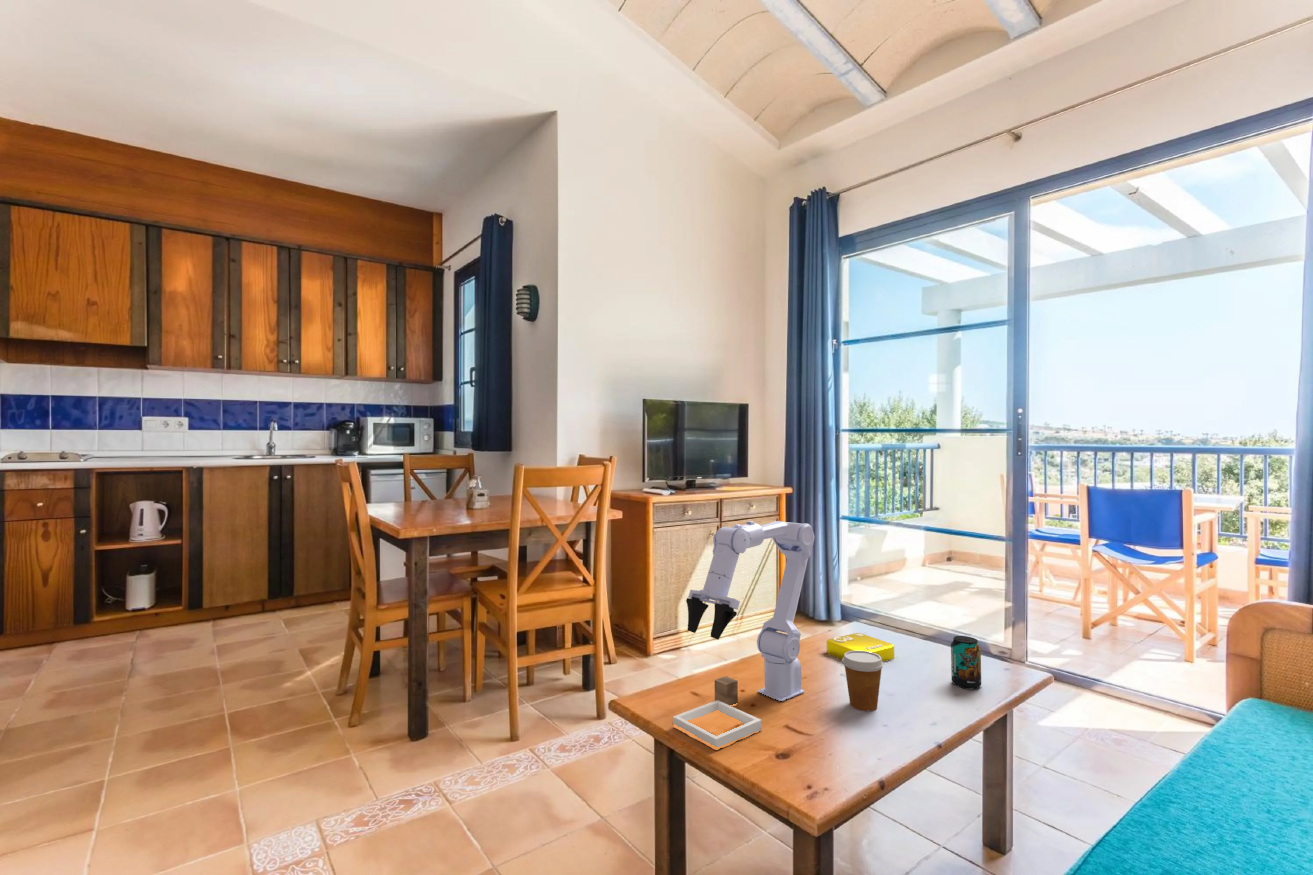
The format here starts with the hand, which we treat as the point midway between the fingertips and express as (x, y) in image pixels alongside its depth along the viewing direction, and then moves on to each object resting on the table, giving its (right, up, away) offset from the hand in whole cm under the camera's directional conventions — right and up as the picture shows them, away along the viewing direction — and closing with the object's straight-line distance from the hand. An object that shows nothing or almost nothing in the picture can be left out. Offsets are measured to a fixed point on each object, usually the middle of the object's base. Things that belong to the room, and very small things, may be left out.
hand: (702, 634), depth 137 cm
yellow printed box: (+51, -22, +47) cm, 73 cm away
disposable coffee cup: (+40, -21, +11) cm, 47 cm away
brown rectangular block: (+7, -21, +13) cm, 26 cm away
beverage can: (+71, -21, +23) cm, 78 cm away
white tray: (+3, -21, 0) cm, 21 cm away
